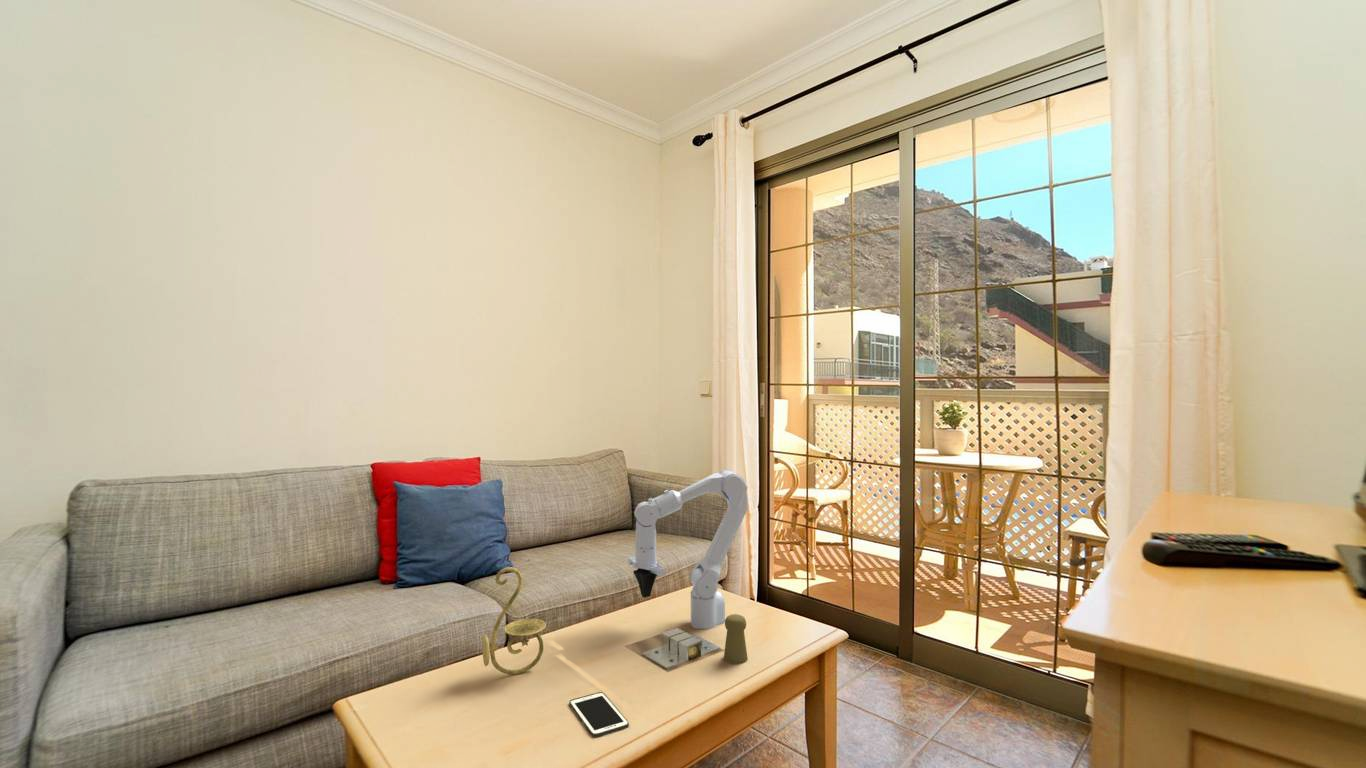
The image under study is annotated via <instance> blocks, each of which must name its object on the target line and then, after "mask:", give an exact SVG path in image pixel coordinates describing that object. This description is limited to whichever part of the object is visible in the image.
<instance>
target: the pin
mask: <svg viewBox="0 0 1366 768" xmlns="http://www.w3.org/2000/svg"><path fill="white" fill-rule="evenodd" d="M697 655H698V648H697V647H695V646H690V647H688V657H689V658H691V659H695V658H696V657H697Z"/></svg>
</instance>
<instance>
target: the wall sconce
mask: <svg viewBox="0 0 1366 768" xmlns="http://www.w3.org/2000/svg"><path fill="white" fill-rule="evenodd" d="M506 572H512V573H514V574H515V575H516V577H517V578H518V583H517V587H516V589H515V591H514V592H513V594H512V595H511V597H510V598H509V600H508V601H507V603H506V605H505V606H504V607H503V609H502V610H501V612H500V614H499V616H498V618H497V620H496V623H495V625H494V628H493V630H492V633H491V637H490V642H489V637H488V635H487V634H486V633H485V634H483V635H482V644H481V646H482V648H481V649H482V658H483V665H484V667H487V666H488V665H489V663H490V660H491V664H492V666H493V668H495V669H496V670H497V671H498V672H500V673H503V674H505V675H513V676H514V675H519V674H522V673H525V672H527V671H529V670H531V669H533V667H535V666H536V665H537V664H538V662H539V661H540V660H541V658H542V655H543V652H544V641H543V638H542V635H541V634H540V632H542V631H543V630H545V628H546V625H547V623H546V622H545V621H544V620H542V619H538V618H523V619H518V620H514V621H511V622H509V623H507V624H506V625H505V626H504V629H503V631H504V633H505V634H507V635H510V636H511V637H510V638H509V639H508V642H507V644H506V645H507V646H506V647H507V651H508V653H510V654H511V655H517V654H518V655H519V654H520V653H521V652H522V651H523V649H521V648H518V649H513V647H512V644H513V642H514V641H515V640H516V639H518V638H521V637H522V638H523V640H520V641H519V642H520V643H521V647H524V646H529V645H528V643H529V642H530V639H527V637H529V636H532V635H533V636H535V637H536V639H537V641H538V653H537V656H536V658H534V659H533V661H532V662H530V663H529V664H527V665H526V666H524V667H521V668H519V669H507V668H504V667H502V666H501V665H500V664H499V663H498V661H497V659H496V654H495V652H496V651H498V645H497V644H496V638H497V633H498V630H499V628H500V625H501V623H502V620H503V618H504V616H505V615H506V614H507V612H508V610H509V609H510V607H511V605H513V603H514V602H515V600H516V598H517V597H518V595H519V594H520V592H521V589H522V586H523V575H522V573H521V572H520V571H519V570H518V569H517V568H515V567H512V566H507V567H504V568H501V569H500V570H499V571H498V572H497V573H496V575H495V583H496V584H498V585H499V586H504V585H505V584H507V582H508V579H507V578H505V579H504V580H503V581H501V580H500V577H501V576H502V574H504V573H506Z"/></svg>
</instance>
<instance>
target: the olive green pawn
mask: <svg viewBox="0 0 1366 768" xmlns="http://www.w3.org/2000/svg"><path fill="white" fill-rule="evenodd" d="M724 626H725V629H726V636H725V642H724V643H725V645H724V651H723V653H724V654H723V660H724V661H725V662H727V663H729V664H733V665H740V664H745V663H746V662H748V651H747V643H746V636H745V630H746V628H747V620H746V618H745V617H744V616H743V615H741V614H738V613H737V614H736V613H735V614H729V615H727V616H726V617H725V622H724Z"/></svg>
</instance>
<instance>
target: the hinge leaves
mask: <svg viewBox="0 0 1366 768" xmlns="http://www.w3.org/2000/svg"><path fill="white" fill-rule="evenodd" d="M678 628H679V627H675V628H673V629H669V630H666V631H663V632H661V634H662V646H660V647H658V648H655V649H652V650H649V651H646V652H643V653H642V655H643V656H645V657H647V658H648V659H650V660H652V661H653V662H655V663H657V664H658V665H660V666H662V667H663V668H665V669H670V668H673V667H675V666H678V665H680V664H683V663H686V662H688V647H690V646H695V647H697V648H698V655H699V656H700V657H702V656H704V655H707V654H709V653H712V652H715V651H717V650H720V648H721V646H718V645H716V644H715V643H712V642H710V641H708V640H707V639H705V638H702V637H700V636H699V635H696V634H693V635H690V634H688V633H686V632H685V633H684V631H682V630H680V629H678Z"/></svg>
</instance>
